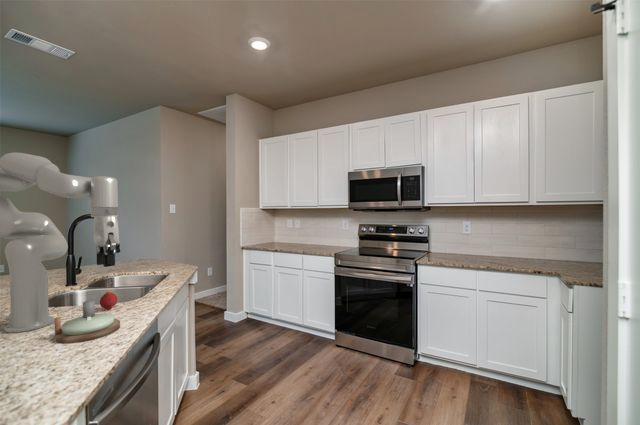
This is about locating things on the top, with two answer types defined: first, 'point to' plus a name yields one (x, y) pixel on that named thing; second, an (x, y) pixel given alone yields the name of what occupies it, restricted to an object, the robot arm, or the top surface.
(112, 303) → the onion
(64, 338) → the base plate
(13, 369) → the top surface
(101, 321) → the turntable
